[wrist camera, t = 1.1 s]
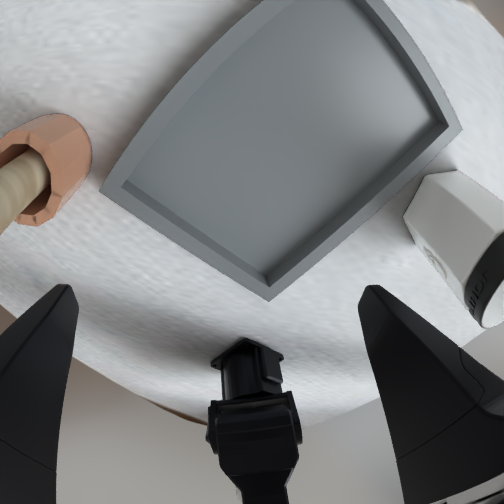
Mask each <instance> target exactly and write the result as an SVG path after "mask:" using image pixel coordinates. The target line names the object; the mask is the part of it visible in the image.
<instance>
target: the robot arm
mask: <svg viewBox="0 0 504 504" xmlns="http://www.w3.org/2000/svg"><path fill="white" fill-rule="evenodd" d="M78 313H79V306H78V302H77V300H76V297H75V295H74V292H73V290H72V287H71V286H70V285H68V284H57V285H56V286H55V287H54V288H52V289H51V290H50V291H49V292H48V293H46V294H45V295H44V296H43V297H42V298H41V299H39V300H38V301H37V302H36V303H35V304H34V305H32V306H31V307H30V308H29V309H28V310H27V311H26V312H25V313H23V314H22V315H21V316H20V317H19V318H18V319H17V320H16V321H15V322H14V323H12V325H10V326H9V327H8V328H7V329H6V330H5V331H4V332H3V333H2V334H1V335H0V504H56V467H57V452H58V440H59V430H60V422H61V414H62V407H63V401H64V394H65V389H66V383H67V378H68V373H69V368H70V363H71V358H72V353H73V346H74V338H75V331H76V325H77V318H78ZM358 313H359V317H360V322H361V326H362V331H363V336H364V340H365V345H366V349H367V353H368V357H369V360H370V363H371V366H372V370H373V373H374V376H375V380H376V383H377V387H378V390H379V394H380V397H381V401H382V404H383V408H384V412H385V415H386V419H387V423H388V427H389V431H390V435H391V439H392V444H393V448H394V452H395V457H396V462H397V467H398V472H399V476H400V482H401V487H402V492H403V497H404V502H405V504H430V503H433V502H436V501H439V500H442V499H445V500H444V501H442V502H440V503H439V504H504V380H502V379H501V378H499V377H498V376H497V375H495V374H494V373H493V372H491V371H490V370H488V369H487V368H486V367H484V366H483V365H482V364H480V363H479V362H477V361H476V360H475V359H474V358H473V357H471V356H470V355H469V354H468V353H466V352H465V351H464V350H463V349H462V348H460V347H458V345H457V344H455V343H454V342H453V341H452V340H450V339H449V338H448V337H447V336H445V335H444V334H443V333H442V332H440V331H439V330H438V329H437V328H435V327H434V326H433V325H431V324H430V323H429V322H428V321H426V320H425V319H424V318H422V317H421V316H420V315H419V314H417V313H416V312H415V311H413V310H412V309H411V308H409V307H408V306H407V305H405V304H404V303H403V302H402V301H400V300H399V299H398V298H396V297H395V296H394V295H392V294H391V293H389V292H388V291H387V290H385V289H384V288H383V287H381V286H380V285H368V286H367V287H366V288H365V290H364V292H363V294H362V297H361V299H360V301H359V304H358ZM282 360H284V357H283V355H282V354H280V353H277V352H275V351H273V350H271V349H269V348H266V347H264V346H262V345H260V344H258V343H256V342H254V341H252V340H249V339H243V340H242V341H240V342H239V343H237V344H236V345H234V346H233V347H232V348H230V349H229V350H227V351H226V352H224V353H223V354H222V355H220V356H219V357H217V358H216V359H214V360H213V361H211V367H213V368H215V369H218V370H220V371H221V382H222V398H223V400H220V401H216V400H211V406H210V407H208V426H207V432H206V441H207V442H208V443H209V444H210V445H211V447H212V450H213V452H214V454H218V456H219V464H220V467H221V469H222V470H223V471H224V473H225V474H226V475H227V476H228V477H229V478H230V480H231V481H232V482H233V483H234V484H235V485H236V487H237V488H238V489H239V490H240V491H241V495H242V502H243V504H289V501H288V495H287V489H286V486H287V483H288V481H289V479H290V477H291V475H292V472H293V470H294V468H295V466H296V464H297V461H298V459H299V453H298V447H297V445H299V444H302V430H301V424H300V420H299V416H298V413H297V409H296V405H295V402H294V398H293V395H292V391H286V392H285V393H282V388H281V383H283V378H282V373H281V369H280V364H279V362H281V361H282Z"/></svg>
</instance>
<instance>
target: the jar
mask: <svg viewBox="0 0 504 504" xmlns="http://www.w3.org/2000/svg"><path fill="white" fill-rule="evenodd" d="M403 219H404V221H405V223H406V225H407V227H408V229H409V231H410V233H411V235H412V237H413V239H414V242H415V244H416V246H417V247H418V248H419V250H420V251H421V252H422V253H423V254H424V256H425V257H426V258H427V259H428V260H429V262H430V263H431V264H432V265H433V267H434V268H435V269H436V270H437V272H438V273H439V274H440V275H441V277H442V278H443V279H444V281H445V282H446V283H447V284H448V286H449V287H450V288H451V290H452V291H453V292H454V294H455V295H456V297H457V298H458V299H459V301H460V302H461V303H462V305H463V306H464V308H465V309H466V310H469V312H470V314H471V315H472V316H473V318H474V319H475V320H476V321H477V322H478V323H479V325H480V326H481V327H482V328H491V327H494V326H496V325H498V324H500V323H501V322H503V321H504V202H503V201H502V200H501V199H499V198H498V197H497V196H495V195H494V194H493V193H491V192H490V191H489V190H487V189H486V188H485V187H483V186H482V185H480V184H479V183H478V182H476V181H475V180H473V179H472V178H470V177H469V176H467V175H466V174H464V173H463V172H461V171H459V170H458V171H451V172H443V173H436V174H429V175H426V176H425V177H424V179H423V181H422V183H421V185H420V187H419V188H418V190H417V192H416V194H415V196H414V198H413V200H412V201H411V203H410V205H409V207H408V209H407V210H406V212H405V214H404V216H403Z"/></svg>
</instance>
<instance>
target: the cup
mask: <svg viewBox="0 0 504 504" xmlns="http://www.w3.org/2000/svg"><path fill="white" fill-rule="evenodd" d="M31 148H34V149H35V150H36V151H38V152H39V153H40V154H42V157H43V159H44V161H45V163H46V165H47V167H48V169H49V171H50V173H51V184H49V185H48V186H47V187H46V188H45V189H44V190H43V191H42V192H41V193H40V194H39V195H38V196H37V197H36V198H35V199H34V200H33V201H32V202H31V203H30V204H29V205H28V206H27V207H26V208H25V209H24V210H23V211H22V212H21V213H20V214H19V215H18V216H17V217H16V218H15V219H14V221H15V222H17V223H18V224H23V225H30V226H39V225H41V224H43V223H44V222H46V221H48V220H50V219H51V218H53V217H54V216H55V215H56V214H57V213H58V211H59V210H60V209H61V208H62V207H63V206H64V204H65V203H66V202H67V201H68V200H69V199H70V198H71V196H72V195H73V194H74V193H75V192H76V191H77V190H78V189H79V188H80V186H81V184H82V182H83V181H84V180H85V178H86V177H87V175H88V173H89V170H90V167H91V163H92V147H91V143H90V139H89V137H88V134H87V133H86V131H85V129H84V128H83V126H82V125H81V124H80V123H79V122H78V121H77V120H75V119H74V118H72V117H70V116H68V115H65V114H58V113H57V114H51V115H44V116H41V117H39V118H37V119H34V120H32V121H30V122H28V123H25V124H23V125H21V126H19V127H17V128H15V129H13V130H11V131H9V132H8V133H7V134H6V135H5V136H4V137H2V138H1V139H0V169H1V168H2V167H4V166H5V165H6V164H8V163H9V162H11V161H12V160H14V159H15V158H17V157H18V156H20V155H21V154H23V153H24V152H26V151H28V150H29V149H31Z"/></svg>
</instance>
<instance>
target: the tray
mask: <svg viewBox="0 0 504 504" xmlns="http://www.w3.org/2000/svg"><path fill="white" fill-rule="evenodd" d="M462 130H463V129H462V126H461V124H460V122H459V120H458V118H457V115H456V113H455V111H454V109H453V107H452V105H451V103H450V101H449V99H448V97H447V95H446V93H445V91H444V89H443V88H442V86H441V84H440V82H439V80H438V79H437V77H436V75H435V73H434V72H433V70H432V68H431V67H430V65H429V63H428V62H427V60H426V58H425V57H424V55H423V54H422V52H421V51H420V49H419V48H418V46H417V45H416V43H415V42H414V40H413V39H412V37H411V36H410V34H409V33H408V32H407V30H406V29H405V28H404V26H403V25H402V24H401V22H400V21H399V20H398V18H397V17H396V16H395V14H394V13H393V12H392V11H391V9H390V8H389V7H388V6H387V5H386V3H385V2H384V1H383V0H263V1H262V2H261V3H260V4H258V5H257V6H256V7H255V8H253V9H252V10H251V11H250V12H249V13H247V14H246V15H245V16H244V17H243V18H242V19H240V20H239V21H238V22H237V23H236V24H235V25H234V26H233V27H231V28H230V29H229V30H228V31H227V32H226V33H225V34H224V35H223V36H222V37H221V38H220V39H219V40H218V41H217V42H215V43H214V44H213V45H212V46H211V47H210V48H209V49H208V50H207V51H206V52H205V53H204V54H203V55H202V57H201V58H200V59H199V60H198V61H197V62H196V63H195V64H194V65H193V66H192V67H191V68H190V69H189V70H188V71H187V72H186V74H185V75H184V76H183V77H182V78H181V79H180V80H179V81H178V83H177V84H176V85H175V86H174V87H173V88H172V89H171V91H170V92H169V93H168V94H167V95H166V97H165V98H164V99H163V100H162V101H161V103H160V104H159V105H158V106H157V108H156V109H155V110H154V111H153V113H152V114H151V115H150V116H149V118H148V119H147V120H146V122H145V123H144V124H143V126H142V127H141V128H140V130H139V131H138V132H137V134H136V135H135V137H134V138H133V139H132V141H131V142H130V144H129V145H128V146H127V148H126V149H125V151H124V152H123V154H122V155H121V157H120V158H119V160H118V161H117V163H116V164H115V166H114V167H113V169H112V170H111V172H110V173H109V175H108V177H107V178H106V180H105V181H104V183H103V185H102V186H101V188H100V190H99V191H100V192H101V193H102V194H104V195H105V196H107V197H108V198H110V199H111V200H113V201H114V202H115V203H117V204H118V205H120V206H121V207H123V208H124V209H126V210H127V211H129V212H130V213H132V214H133V215H135V216H136V217H137V218H139V219H140V220H142V221H143V222H145V223H146V224H148V225H149V226H151V227H152V228H154V229H155V230H157V231H158V232H160V233H161V234H163V235H164V236H166V237H167V238H169V239H170V240H172V241H174V242H175V243H177V244H178V245H180V246H181V247H183V248H184V249H186V250H187V251H189V252H190V253H192V254H193V255H195V256H197V257H198V258H200V259H201V260H203V261H204V262H206V263H207V264H209V265H211V266H212V267H214V268H215V269H217V270H218V271H220V272H222V273H223V274H225V275H226V276H228V277H230V278H231V279H233V280H234V281H236V282H238V283H239V284H241V285H242V286H244V287H246V288H247V289H249V290H250V291H252V292H254V293H255V294H257V295H258V296H260V297H262V298H263V299H265V300H267V301H268V302H269V301H271V300H272V299H273V298H274V297H276V296H277V295H278V294H279V293H281V292H282V291H283V290H284V289H286V288H287V287H288V286H289V285H291V284H292V283H293V282H294V281H296V280H297V279H298V278H299V277H300V276H302V275H303V274H304V273H305V272H307V271H308V270H309V269H310V268H311V267H313V266H314V265H315V264H316V263H317V262H319V261H320V260H321V259H322V258H323V257H325V256H326V255H327V254H328V253H329V252H331V251H332V250H333V249H334V248H335V247H336V246H338V245H339V244H340V243H341V242H342V241H344V240H345V239H346V238H347V237H348V236H349V235H350V234H352V233H353V232H354V231H355V230H356V229H357V228H359V227H360V226H361V225H362V224H363V223H364V222H365V221H367V220H368V219H369V218H370V217H371V216H372V215H373V214H374V213H376V212H377V211H378V210H379V209H380V208H381V207H382V206H383V205H384V204H386V203H387V202H388V201H389V200H390V199H391V198H392V197H393V196H394V195H395V194H397V193H398V192H399V191H400V190H401V189H402V188H403V187H404V186H405V185H406V184H407V183H408V182H409V181H411V180H412V179H413V178H414V177H415V176H416V175H417V174H418V173H419V172H420V171H421V170H422V169H423V168H424V167H425V166H426V165H427V164H428V163H430V162H431V161H432V160H433V159H434V158H435V157H436V156H437V155H438V154H439V153H440V152H441V151H442V150H443V149H444V148H445V147H446V146H447V145H448V144H449V143H450V142H451V141H452V140H453V139H454V138H455V137H456V136H457V135H458V134H459V133H460V132H461V131H462Z"/></svg>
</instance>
